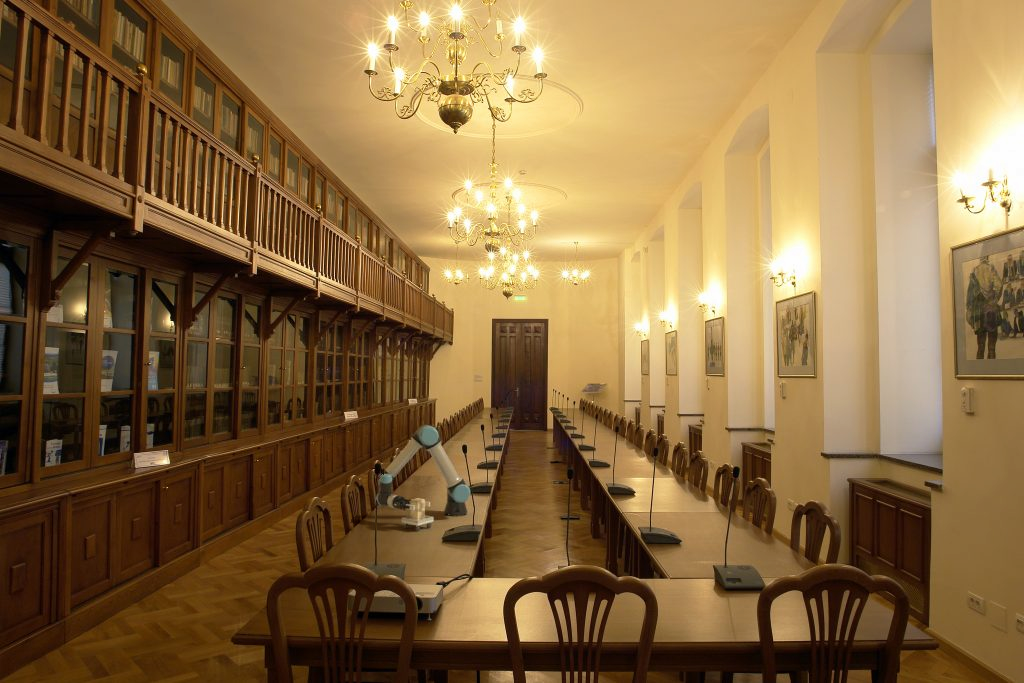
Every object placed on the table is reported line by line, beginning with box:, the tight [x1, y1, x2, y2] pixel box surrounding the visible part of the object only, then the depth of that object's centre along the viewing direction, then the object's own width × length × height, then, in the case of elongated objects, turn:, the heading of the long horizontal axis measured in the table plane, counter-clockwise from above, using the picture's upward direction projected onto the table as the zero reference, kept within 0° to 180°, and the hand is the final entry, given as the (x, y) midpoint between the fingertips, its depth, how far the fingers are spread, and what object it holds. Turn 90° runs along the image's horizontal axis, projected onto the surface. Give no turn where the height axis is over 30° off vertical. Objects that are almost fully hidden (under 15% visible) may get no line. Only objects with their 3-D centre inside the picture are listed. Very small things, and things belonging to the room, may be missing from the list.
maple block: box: [409, 497, 426, 520], centre depth 395 cm, size 6×6×12 cm
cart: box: [401, 514, 434, 532], centre depth 395 cm, size 13×13×6 cm
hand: (422, 506), depth 393 cm, fingers open, 12 cm apart
